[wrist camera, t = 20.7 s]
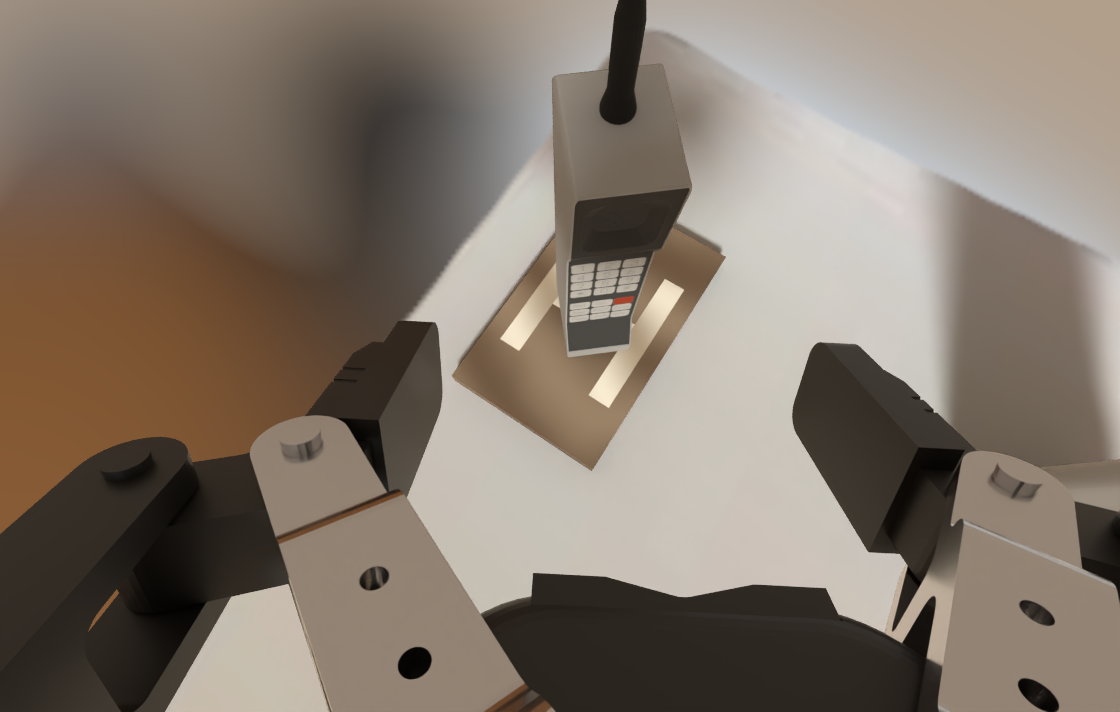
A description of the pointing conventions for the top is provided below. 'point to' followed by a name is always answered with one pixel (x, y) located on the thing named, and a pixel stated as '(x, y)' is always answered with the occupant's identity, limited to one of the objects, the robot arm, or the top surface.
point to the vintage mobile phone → (613, 186)
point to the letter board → (590, 380)
